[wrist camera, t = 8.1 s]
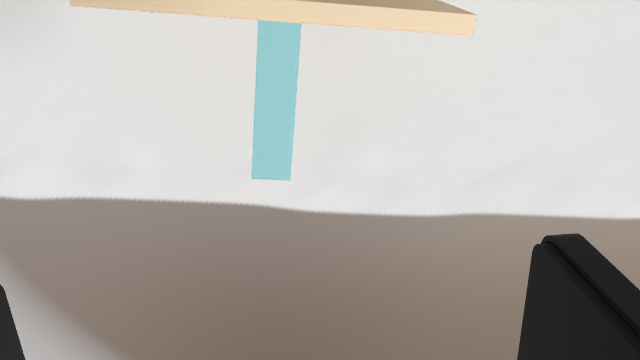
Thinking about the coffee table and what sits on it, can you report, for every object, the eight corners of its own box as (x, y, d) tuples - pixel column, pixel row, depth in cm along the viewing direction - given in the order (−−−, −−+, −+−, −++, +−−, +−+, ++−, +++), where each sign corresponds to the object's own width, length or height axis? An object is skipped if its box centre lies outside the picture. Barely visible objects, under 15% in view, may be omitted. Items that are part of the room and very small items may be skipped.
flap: (476, 14, 16) (444, 186, 18) (422, -6, 22) (402, 128, 24) (68, -18, 15) (83, 171, 17) (120, -31, 20) (127, 113, 23)
